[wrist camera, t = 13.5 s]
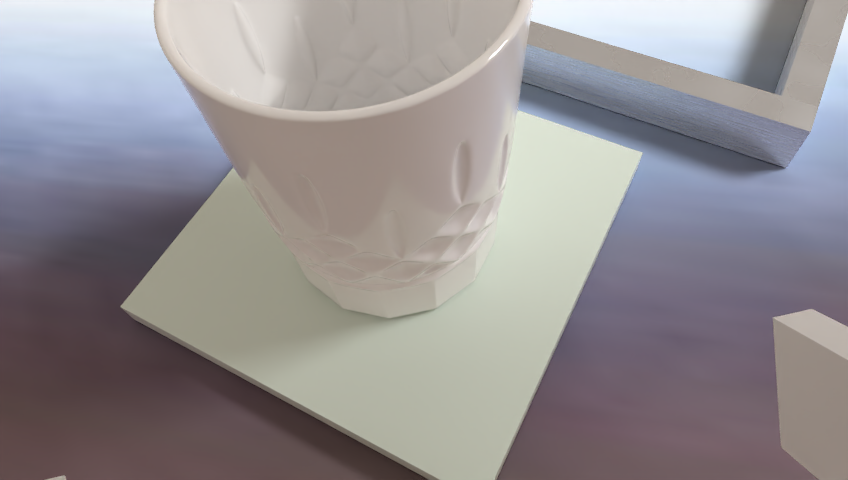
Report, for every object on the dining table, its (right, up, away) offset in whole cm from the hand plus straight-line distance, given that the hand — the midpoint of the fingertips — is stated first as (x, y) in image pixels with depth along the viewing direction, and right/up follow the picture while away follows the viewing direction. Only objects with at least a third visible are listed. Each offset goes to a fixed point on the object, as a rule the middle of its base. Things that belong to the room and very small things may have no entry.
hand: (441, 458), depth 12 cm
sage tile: (-1, +4, +11) cm, 12 cm away
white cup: (-1, +4, +10) cm, 11 cm away
